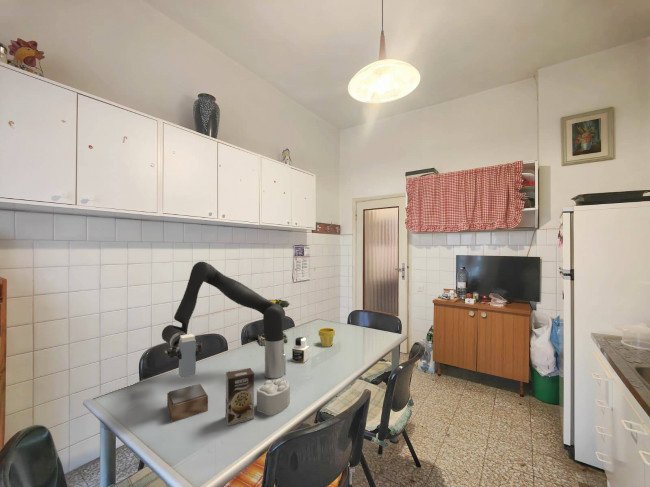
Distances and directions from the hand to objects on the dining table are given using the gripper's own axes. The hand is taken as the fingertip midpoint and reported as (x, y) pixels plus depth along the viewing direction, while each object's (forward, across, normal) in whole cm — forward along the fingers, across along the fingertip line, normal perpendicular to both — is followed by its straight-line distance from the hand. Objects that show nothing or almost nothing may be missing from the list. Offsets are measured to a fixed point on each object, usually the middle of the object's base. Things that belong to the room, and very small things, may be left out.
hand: (188, 354), depth 106 cm
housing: (-3, 0, +8) cm, 8 cm away
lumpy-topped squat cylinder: (+16, +28, +21) cm, 39 cm away
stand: (-2, 0, +21) cm, 21 cm away
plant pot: (-28, +86, +21) cm, 93 cm away
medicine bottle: (-17, +60, +21) cm, 66 cm away
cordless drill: (-58, +63, +22) cm, 88 cm away
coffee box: (+16, +14, +21) cm, 30 cm away
